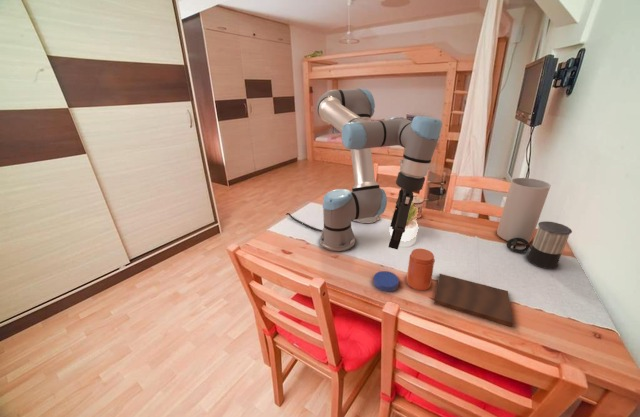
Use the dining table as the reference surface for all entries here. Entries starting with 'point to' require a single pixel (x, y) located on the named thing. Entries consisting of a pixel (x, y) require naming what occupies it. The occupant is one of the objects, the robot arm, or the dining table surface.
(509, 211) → the cylinder vase
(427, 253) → the jar
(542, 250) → the milk frother
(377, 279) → the jar lid
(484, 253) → the dining table surface
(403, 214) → the robot arm
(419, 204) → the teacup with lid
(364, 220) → the grey speckled mound
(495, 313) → the board
